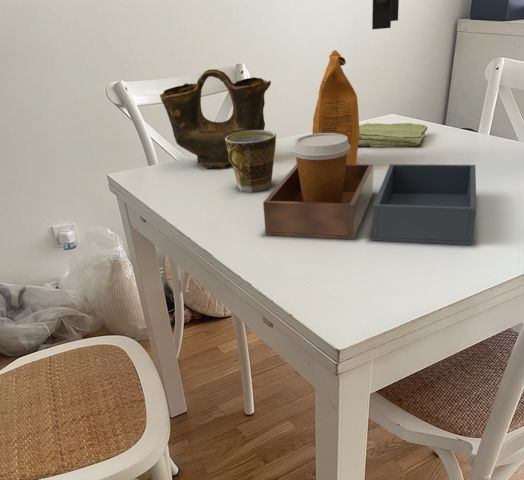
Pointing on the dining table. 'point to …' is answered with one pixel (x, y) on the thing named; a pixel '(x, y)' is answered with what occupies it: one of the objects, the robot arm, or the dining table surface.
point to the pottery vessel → (208, 132)
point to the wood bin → (319, 207)
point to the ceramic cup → (252, 158)
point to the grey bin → (426, 204)
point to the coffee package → (338, 106)
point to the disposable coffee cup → (322, 166)
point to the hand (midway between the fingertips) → (385, 24)
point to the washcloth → (391, 134)
